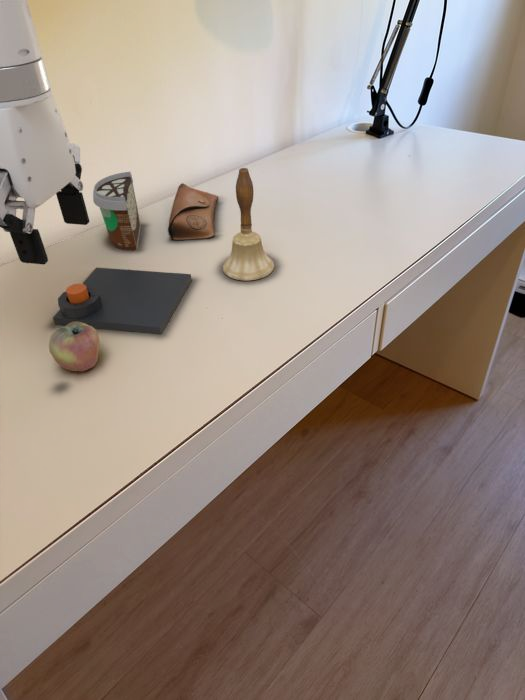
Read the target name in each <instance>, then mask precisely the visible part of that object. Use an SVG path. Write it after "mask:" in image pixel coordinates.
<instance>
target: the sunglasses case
mask: <svg viewBox="0 0 525 700" xmlns="http://www.w3.org/2000/svg"><path fill="white" fill-rule="evenodd" d="M218 201H219V196H218V195H216V194H213V193H210V192H206V191H203V190H199V189H197V188H194V187H190V186H189V185H187V184H185V183H183V182H182V183H180V184H179V186H178V187H177V190H176V194H175V196H174V200H173V202H172V203H173V204H172V207H171V211H170V215H169V221H168V226H167V233H168V236H169V237H170V238H171V239H172V240H173V241H196V240H204V239H210V238H213V237H215V225H214V222H215V221H214V220H215V212H216V207H217V203H218Z"/></svg>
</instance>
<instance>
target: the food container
mask: <svg viewBox="0 0 525 700" xmlns="http://www.w3.org/2000/svg"><path fill="white" fill-rule="evenodd" d="M92 201H93V204H94V205H95V206H97V207H98V208H99V211H100V213H101V216H102V220H103V222H104V225H105V229H106V231H107V234H108V237H109V240H110V243H111V245H112V246H113V247H114V248H116V249H119V250H124V251H137V250H138V246H139V240H140V234H141V229H142V225H141V219H140V214H139V209H138V204H137V198H136V194H135V186H134V180H133V175H132V171H124V172H119V173H115V174H111V175H107V176H106V177H104V178H101V179H100V180H98V181H97V182H96V183H95V184H94V186H93V190H92Z"/></svg>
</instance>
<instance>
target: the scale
mask: <svg viewBox="0 0 525 700" xmlns="http://www.w3.org/2000/svg"><path fill="white" fill-rule="evenodd" d="M192 281H193V280H192V274H191V273H180V272H166V271H153V270H152V271H151V270H139V269H122V268H109V267H108V268H107V267H95V268H94V269H93V271H91V272H90V274H89V275H88V276H87V277H86V278H85V280H84V281H83V282H81V284H84V285H86V288H87V291H88V294H89V299H88V300H86V301H84V302H82V303H77V304H73V303H70V302H69V299H68V296H67V293H66V290H65V291H63V292H62V293H61V294H60V295H59V297H58V298H57V305H58V308H59V310H58V311H57V312H56V313H55V314H54V315H53V316H52V320H53V322H54V324H55V325H57V326H58V325H59V326H66V325H68V324H69V323H71V322H82V323H85V324H87V325H89V326H92V327H93V328H94V329H100V330H110V331H111V330H112V331H122V332H131V333H143V334H153V335H154V334H155V335H162V334H163V332H164V330H165V328H166V326H167V325H168V323H169V322H170V319H172V316H173V314H174V313H175V311H176V309H177V307H178V305H180V302H181V301H182V298H183V297H184V295H185V294H186V291H187V290H188V288H189V286H190V285H191V283H192Z"/></svg>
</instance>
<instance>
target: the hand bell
mask: <svg viewBox="0 0 525 700" xmlns="http://www.w3.org/2000/svg"><path fill="white" fill-rule="evenodd" d="M235 195H236V196H235V197H236V202H237V205H238V208H239V212H240V232H238V233H236V234H234V235H233V236H232V242H231V243H232V244H231V251H230V255H229V257H228V258H227V259H226V260H225V261H224V263H223V266H222V271H223V273H224V275H225V276H227V277H229V278H231V279H233V280H238V281H246V282H247V281H256V280H260V279H263V278H265V277H266V278H267V276H269V275H270V274H272V272H273V271H274V269H275V263H274V261H273V259H272V258H270V256H268V255H267V254H266V252H265V250H264V247H263V241H262V237H261V235H260V234H259V233H258V232H255V231H253V230H252V228H253V227H252V226H253V224H252V213H251V212H252V207H253V202H254V184H253V180H252V177H251V175H250V171H249V169H248V168H247V167H242V168H239V169H238V175H237V178H236V183H235Z"/></svg>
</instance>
